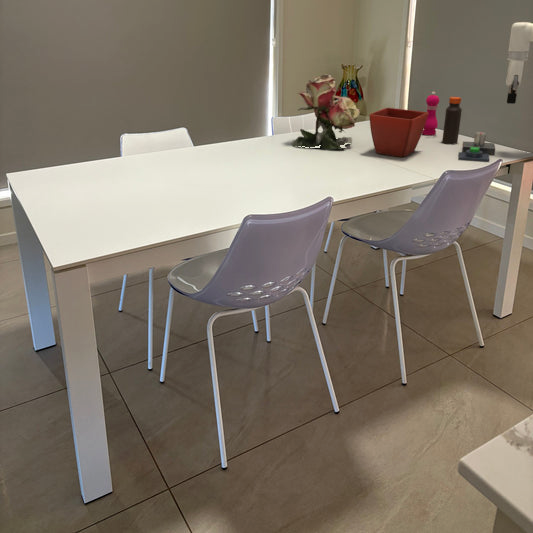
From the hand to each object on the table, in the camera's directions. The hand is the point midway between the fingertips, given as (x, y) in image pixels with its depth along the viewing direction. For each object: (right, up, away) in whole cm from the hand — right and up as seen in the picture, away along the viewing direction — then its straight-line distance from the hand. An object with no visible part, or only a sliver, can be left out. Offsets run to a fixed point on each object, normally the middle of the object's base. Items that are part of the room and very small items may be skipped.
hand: (511, 103), depth 241 cm
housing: (-14, -22, +3) cm, 27 cm away
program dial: (-9, -15, +12) cm, 21 cm away
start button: (-14, -20, +2) cm, 25 cm away
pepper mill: (-22, -3, +44) cm, 49 cm away
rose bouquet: (-73, -11, +29) cm, 79 cm away
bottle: (-16, -10, +28) cm, 34 cm away
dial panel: (-9, -17, +13) cm, 23 cm away
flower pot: (-45, -18, +13) cm, 50 cm away
